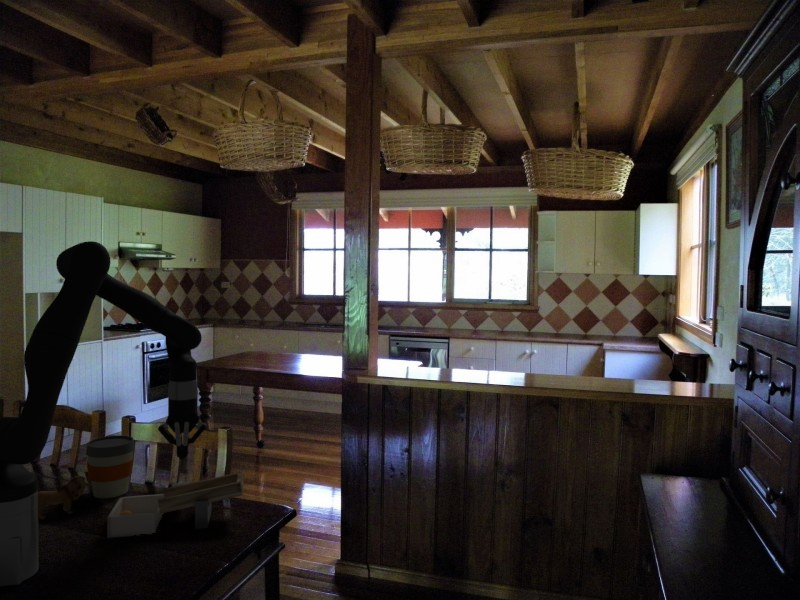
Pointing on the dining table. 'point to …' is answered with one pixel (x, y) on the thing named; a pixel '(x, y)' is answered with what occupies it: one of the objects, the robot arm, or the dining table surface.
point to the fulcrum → (202, 513)
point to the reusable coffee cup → (110, 465)
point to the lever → (201, 492)
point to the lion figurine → (62, 495)
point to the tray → (134, 516)
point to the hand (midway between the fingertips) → (182, 458)
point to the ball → (125, 512)
